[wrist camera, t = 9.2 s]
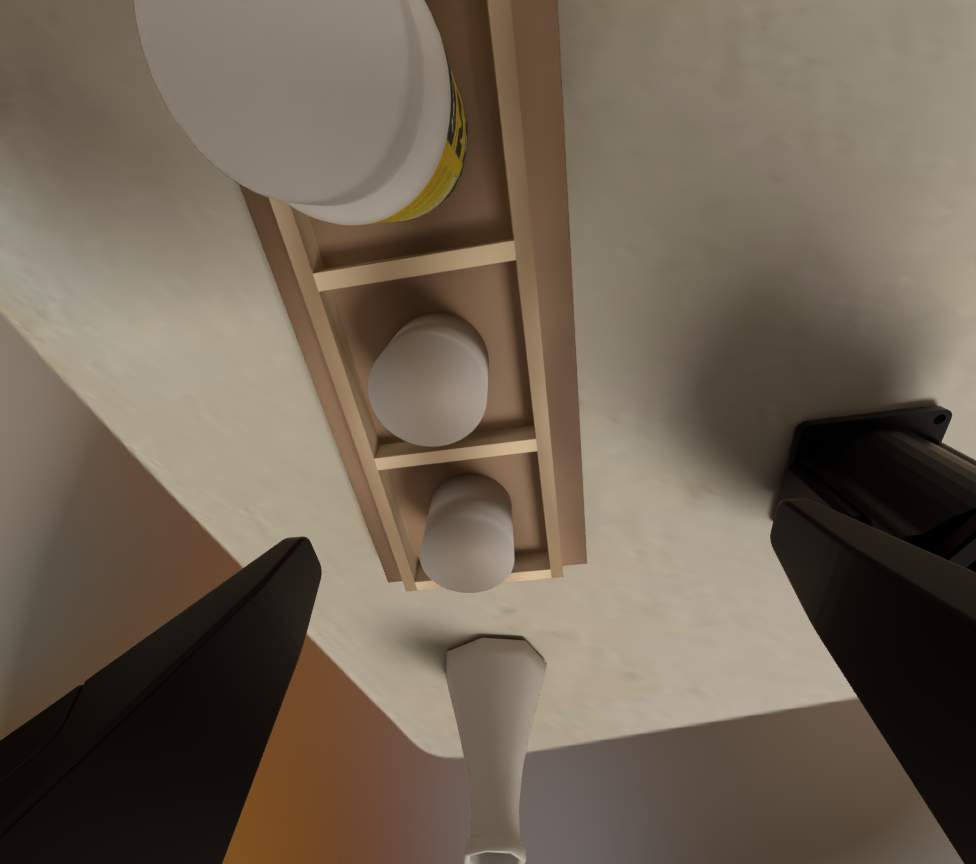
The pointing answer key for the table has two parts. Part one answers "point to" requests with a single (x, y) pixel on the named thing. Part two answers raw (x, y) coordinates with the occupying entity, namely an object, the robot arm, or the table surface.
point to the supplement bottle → (314, 100)
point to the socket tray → (466, 286)
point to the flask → (494, 738)
